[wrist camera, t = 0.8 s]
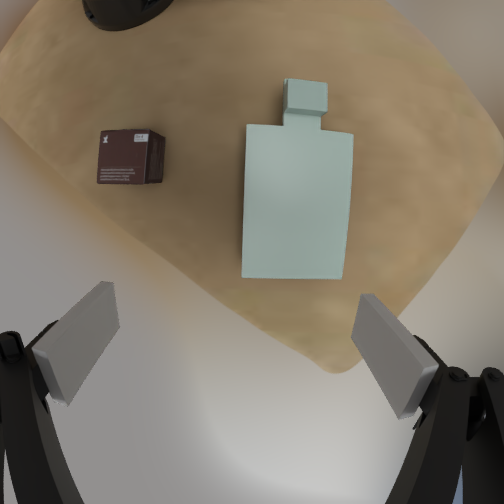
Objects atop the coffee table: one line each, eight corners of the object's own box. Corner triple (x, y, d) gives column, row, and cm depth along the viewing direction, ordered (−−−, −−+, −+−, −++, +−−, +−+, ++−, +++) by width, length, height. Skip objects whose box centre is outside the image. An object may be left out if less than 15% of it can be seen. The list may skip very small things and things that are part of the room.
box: (120, 181, 34) (94, 184, 27) (124, 136, 33) (99, 130, 26) (163, 183, 35) (144, 185, 28) (167, 136, 33) (149, 128, 26)
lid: (248, 79, 27) (249, 68, 24) (350, 90, 28) (361, 82, 24) (241, 274, 33) (241, 286, 29) (339, 276, 33) (348, 287, 30)
